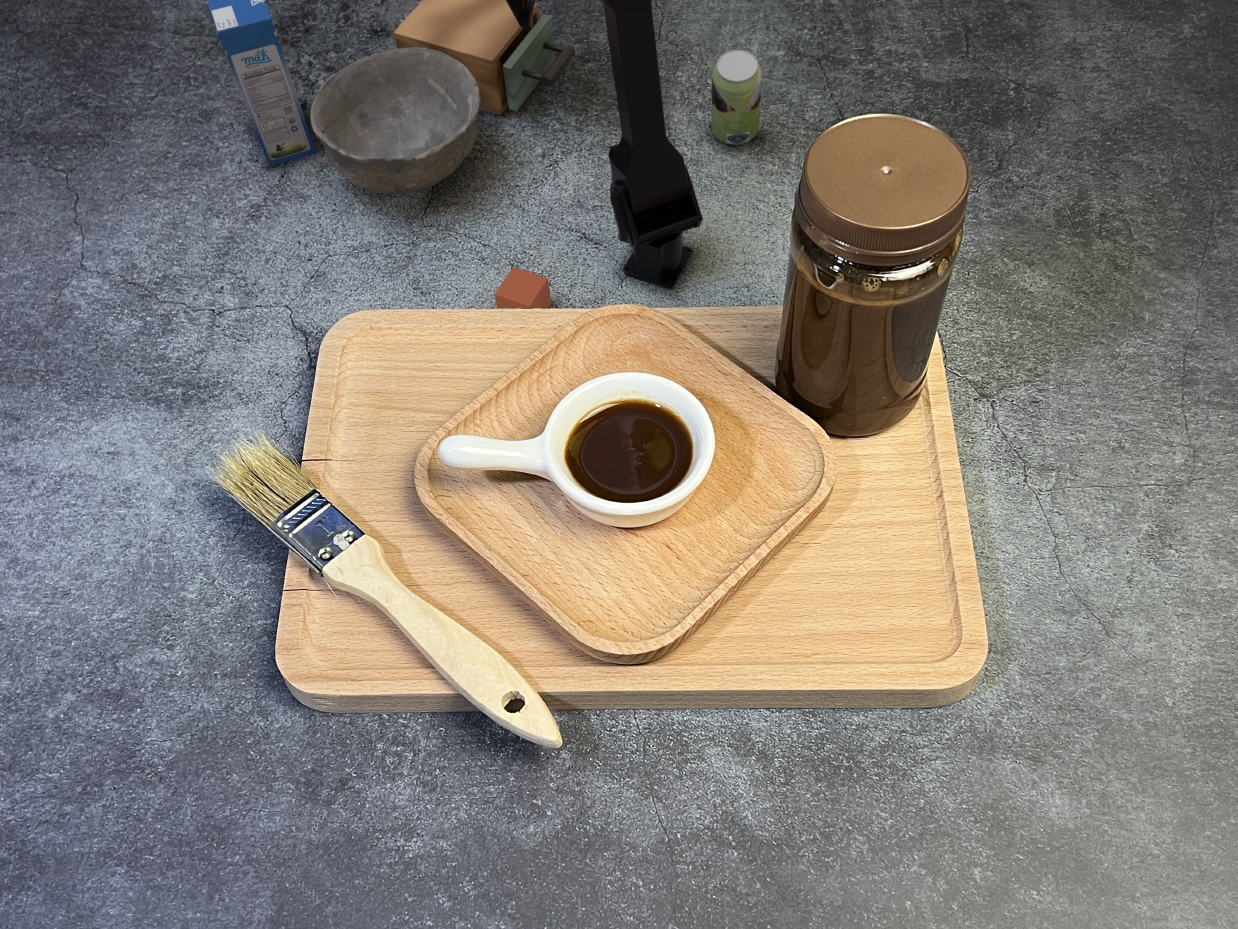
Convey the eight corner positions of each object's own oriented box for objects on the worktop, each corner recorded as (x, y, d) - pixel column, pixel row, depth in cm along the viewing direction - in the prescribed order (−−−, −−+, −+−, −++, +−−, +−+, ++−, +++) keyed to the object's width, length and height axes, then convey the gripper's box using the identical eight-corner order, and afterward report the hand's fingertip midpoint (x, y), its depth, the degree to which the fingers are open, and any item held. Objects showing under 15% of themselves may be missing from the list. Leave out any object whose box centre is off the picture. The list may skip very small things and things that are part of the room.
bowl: (395, 91, 149) (379, 27, 140) (522, 142, 143) (513, 77, 134) (296, 186, 139) (273, 123, 131) (427, 245, 133) (412, 183, 125)
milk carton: (316, 153, 142) (271, 18, 126) (269, 167, 141) (217, 32, 125) (299, 106, 148) (253, -30, 131) (253, 119, 146) (201, -17, 130)
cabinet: (543, 58, 151) (538, 3, 144) (500, 115, 145) (492, 60, 138) (451, 33, 155) (441, -23, 148) (405, 87, 149) (393, 32, 142)
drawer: (584, 68, 149) (581, 24, 143) (546, 120, 143) (541, 76, 138) (469, 35, 153) (462, -9, 148) (427, 85, 148) (418, 41, 142)
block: (533, 332, 125) (529, 306, 122) (499, 319, 127) (494, 293, 123) (551, 304, 128) (548, 278, 124) (517, 292, 129) (513, 266, 125)
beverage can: (758, 118, 144) (766, 38, 134) (757, 157, 140) (764, 78, 130) (710, 116, 144) (714, 36, 134) (707, 154, 140) (711, 76, 130)
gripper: (504, -173, 130) (518, -50, 143) (423, -88, 121) (446, 34, 134) (589, -153, 127) (595, -30, 140) (513, -65, 118) (527, 58, 131)
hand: (540, 6), depth 136 cm, fingers open, 8 cm apart
